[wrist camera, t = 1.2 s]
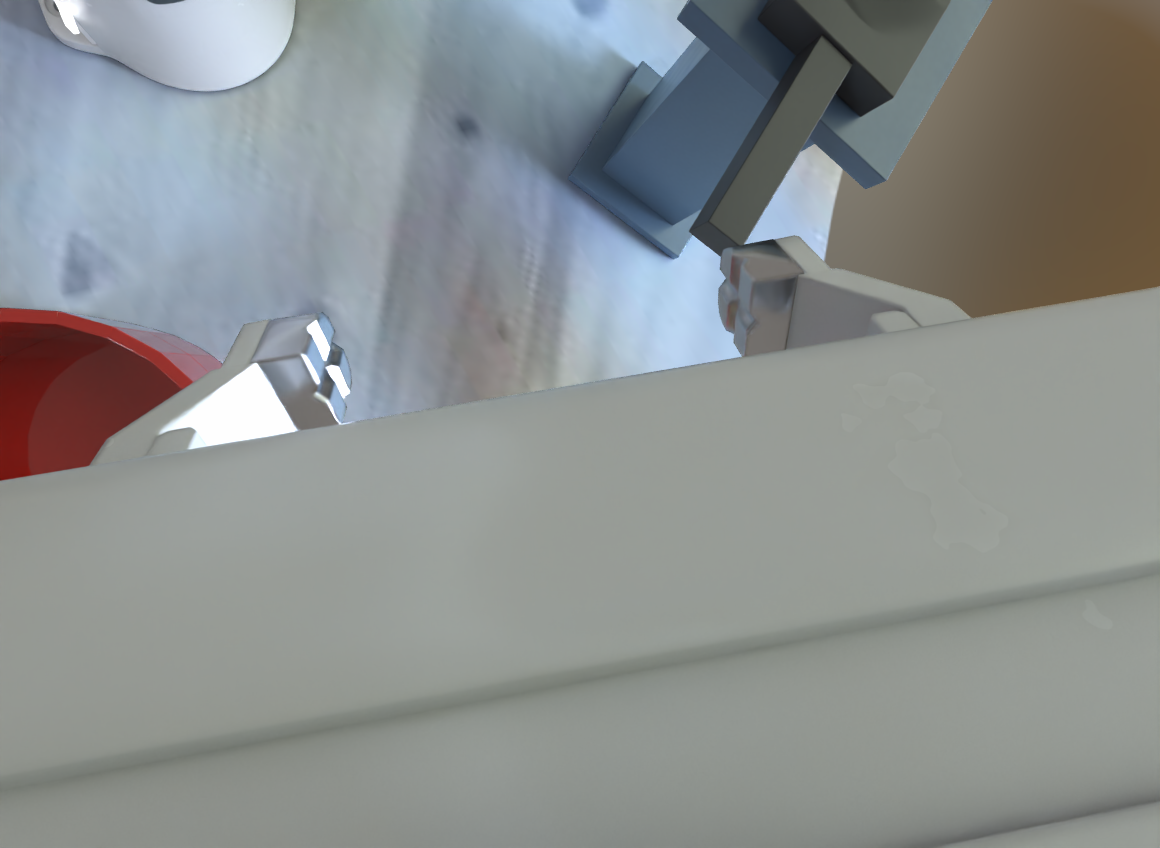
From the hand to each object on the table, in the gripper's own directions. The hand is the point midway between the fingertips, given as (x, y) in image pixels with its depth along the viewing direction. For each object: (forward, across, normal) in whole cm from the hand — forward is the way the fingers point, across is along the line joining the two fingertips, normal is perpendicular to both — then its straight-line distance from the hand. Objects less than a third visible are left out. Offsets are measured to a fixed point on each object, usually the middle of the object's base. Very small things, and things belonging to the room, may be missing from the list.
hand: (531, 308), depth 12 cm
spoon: (+20, -15, +1) cm, 25 cm away
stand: (+43, -13, +13) cm, 47 cm away
